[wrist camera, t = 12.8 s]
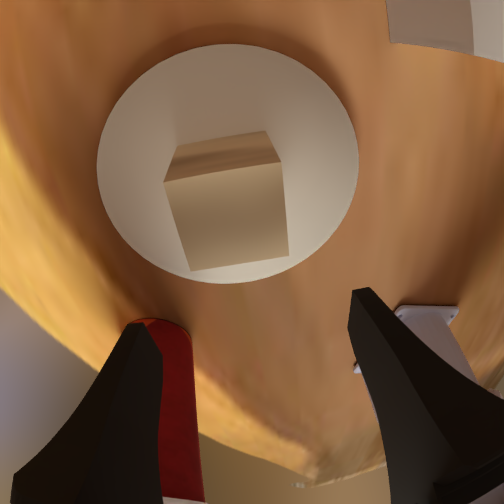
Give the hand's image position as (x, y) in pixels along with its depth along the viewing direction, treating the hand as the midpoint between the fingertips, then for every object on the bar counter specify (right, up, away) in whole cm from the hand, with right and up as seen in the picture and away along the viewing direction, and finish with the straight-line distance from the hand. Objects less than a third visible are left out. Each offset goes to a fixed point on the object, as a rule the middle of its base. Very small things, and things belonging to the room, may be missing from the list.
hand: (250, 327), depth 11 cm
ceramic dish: (-1, +6, +5) cm, 8 cm away
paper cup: (-7, -4, +13) cm, 15 cm away
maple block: (-1, +6, +4) cm, 7 cm away
